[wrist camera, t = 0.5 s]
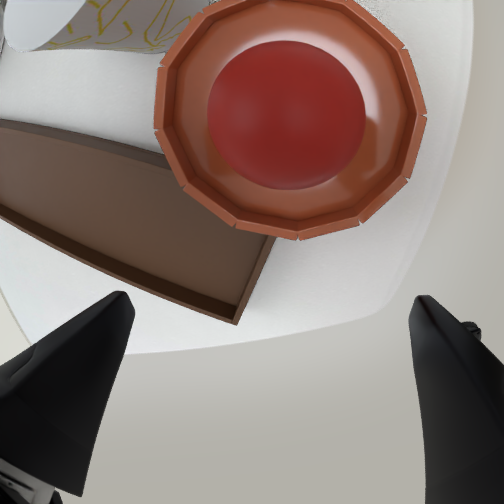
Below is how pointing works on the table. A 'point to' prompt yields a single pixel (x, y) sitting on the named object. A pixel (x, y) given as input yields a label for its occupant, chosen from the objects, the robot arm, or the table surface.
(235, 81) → the ball
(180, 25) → the white cylinder
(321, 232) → the bowl
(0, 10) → the vase
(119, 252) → the tray
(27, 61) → the table surface
